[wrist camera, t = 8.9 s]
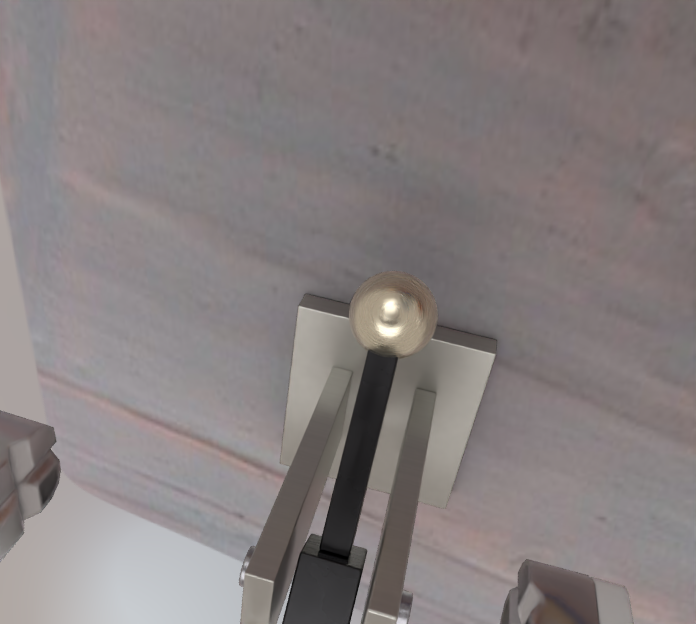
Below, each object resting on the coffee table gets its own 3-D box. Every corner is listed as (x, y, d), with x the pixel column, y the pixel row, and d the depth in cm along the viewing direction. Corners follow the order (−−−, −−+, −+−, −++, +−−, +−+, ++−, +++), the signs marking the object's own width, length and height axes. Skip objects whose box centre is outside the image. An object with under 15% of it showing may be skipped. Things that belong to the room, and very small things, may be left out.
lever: (364, 268, 25) (357, 255, 22) (444, 287, 25) (449, 276, 21) (282, 598, 24) (262, 634, 21) (363, 623, 24) (355, 663, 21)
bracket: (305, 293, 30) (185, 495, 19) (497, 339, 29) (485, 581, 18) (286, 448, 35) (183, 676, 24) (447, 492, 34) (415, 750, 23)
